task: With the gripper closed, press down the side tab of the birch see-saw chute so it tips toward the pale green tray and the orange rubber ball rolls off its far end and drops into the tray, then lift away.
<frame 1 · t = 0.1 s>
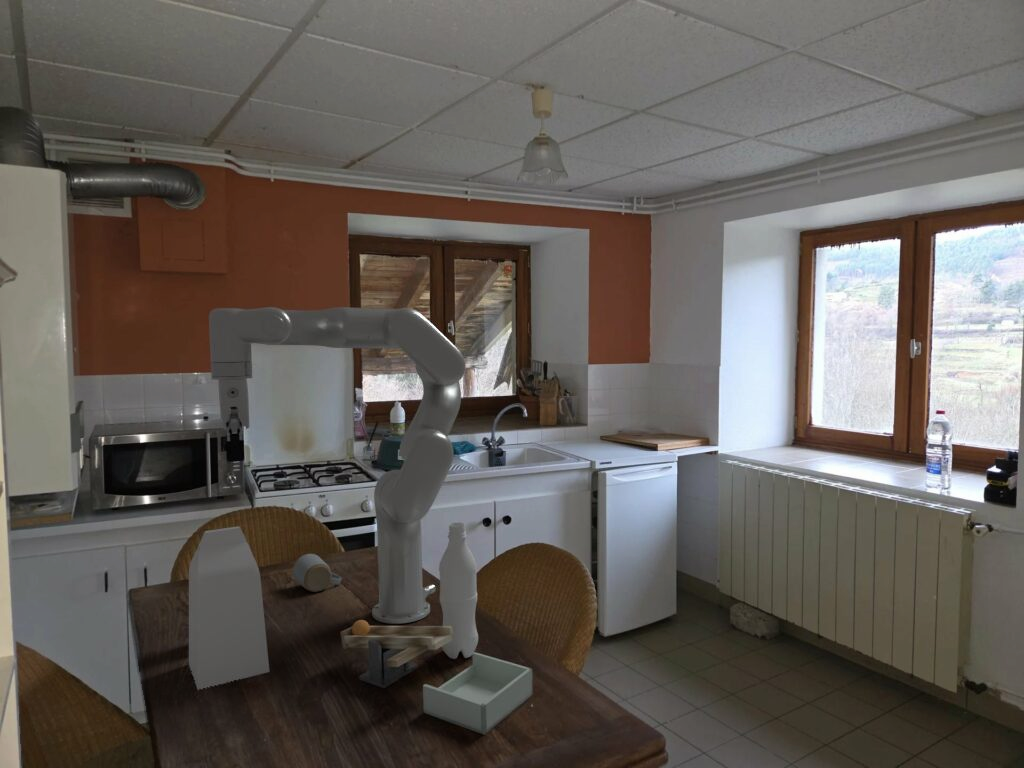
hand: (235, 457, 138), 37 cm above the table, tool pointing down, fingers open, 9 cm apart
milk: (228, 669, 128), on the table
tray: (479, 703, 114), on the table
ball: (360, 628, 129), point 7 cm above the table, tilted 29°, touching lever
ceramic mug: (318, 587, 171), on the table
lever: (382, 642, 121), point 7 cm above the table, hinge at -12.1°, touching ball
fulcrum: (389, 673, 125), on the table
water bottle: (459, 654, 133), on the table
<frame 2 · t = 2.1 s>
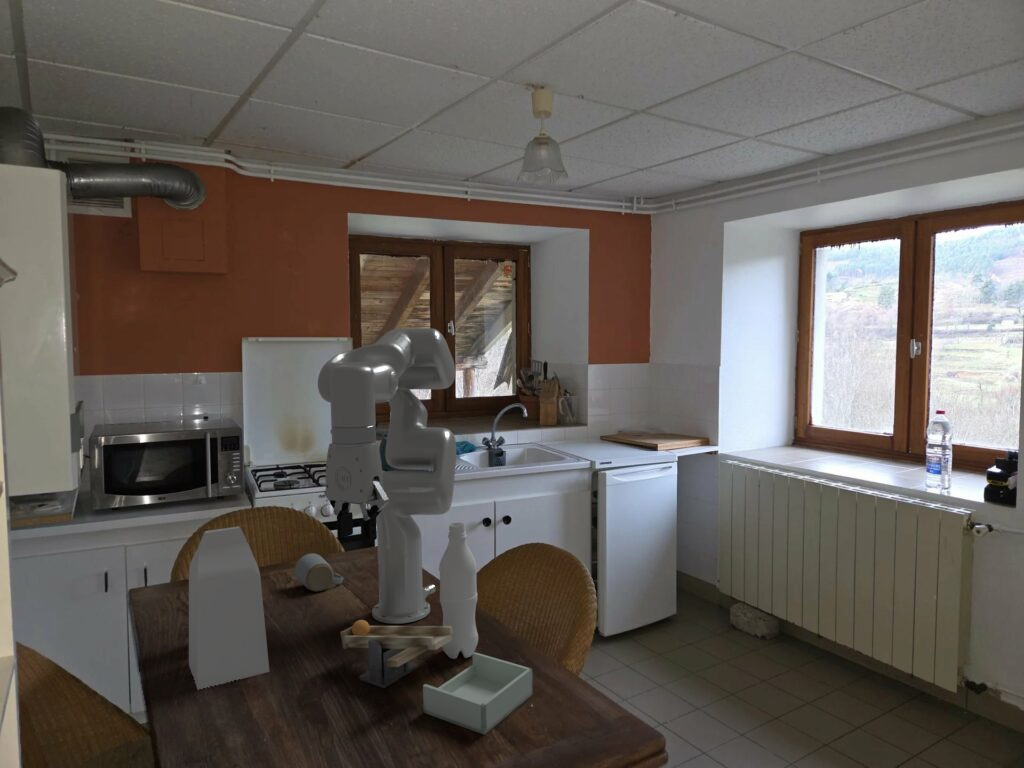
hand: (357, 537, 122), 25 cm above the table, tool pointing down, fingers open, 5 cm apart
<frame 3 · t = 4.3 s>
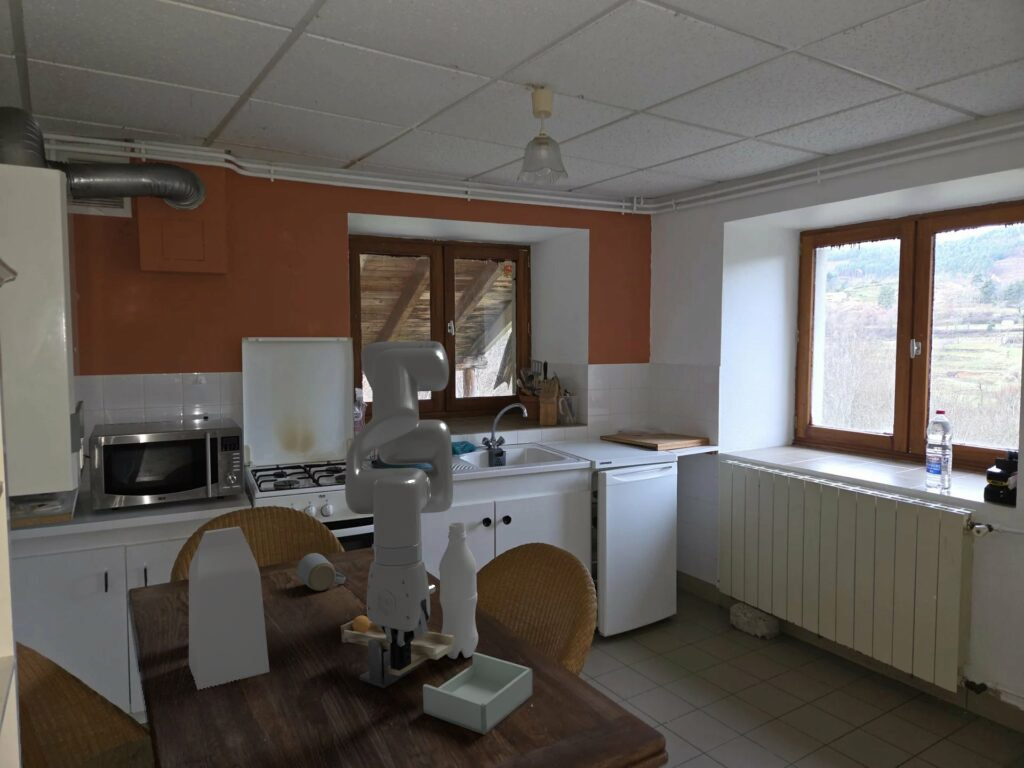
hand: (401, 666, 112), 7 cm above the table, tool pointing down, fingers closed
ball: (361, 624, 129), point 8 cm above the table, tilted 21°, touching lever
lever: (383, 643, 121), point 7 cm above the table, hinge at -4.7°, touching ball, gripper
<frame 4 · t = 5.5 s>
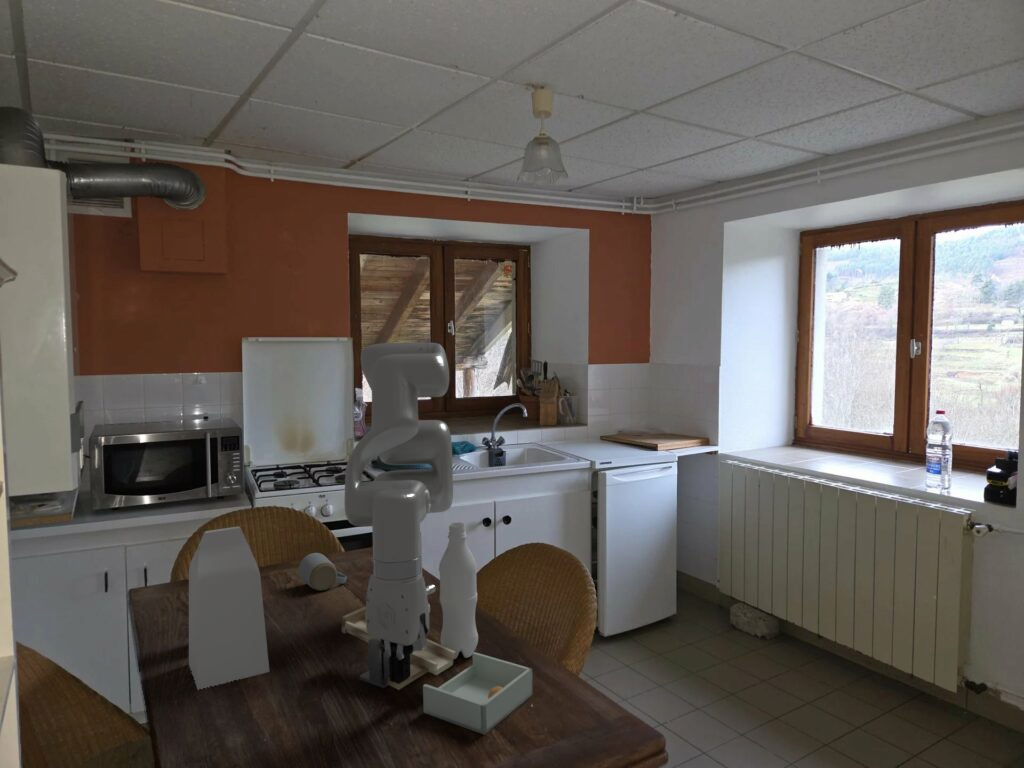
hand: (400, 679, 112), 5 cm above the table, tool pointing down, fingers closed
ball: (498, 697, 112), point 2 cm above the table, tilted 19°, touching tray
lever: (384, 646, 121), point 7 cm above the table, hinge at 7.3°, touching gripper
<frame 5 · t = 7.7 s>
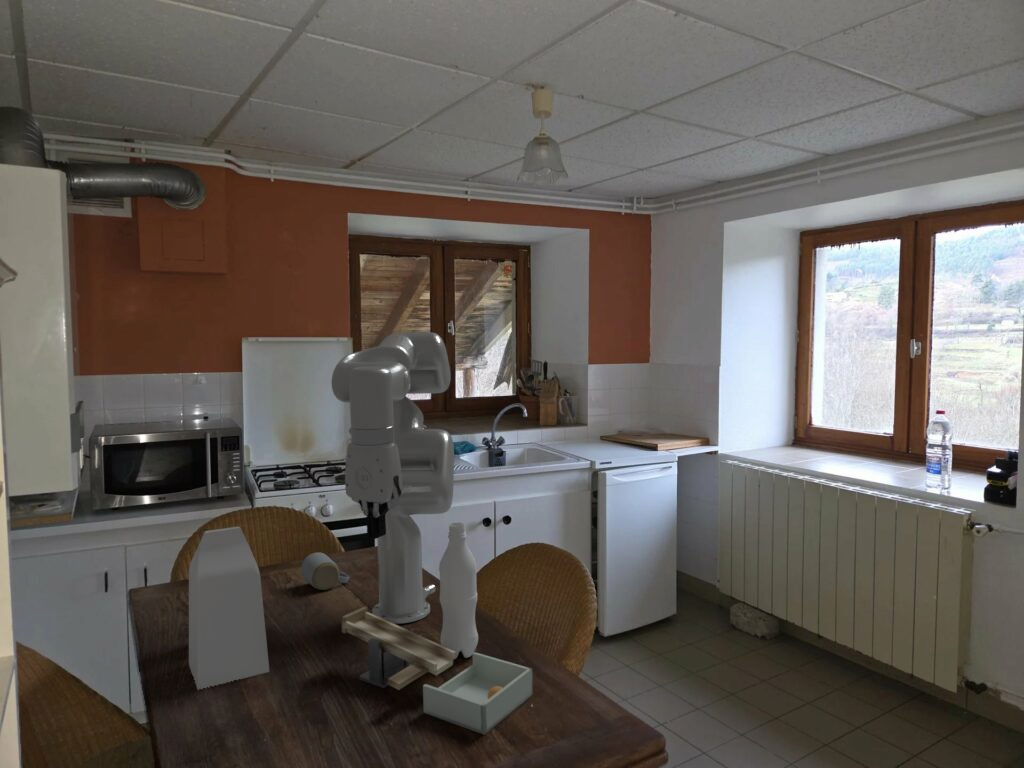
hand: (376, 535, 126), 25 cm above the table, tool pointing down, fingers closed
lever: (384, 646, 121), point 7 cm above the table, hinge at 7.5°
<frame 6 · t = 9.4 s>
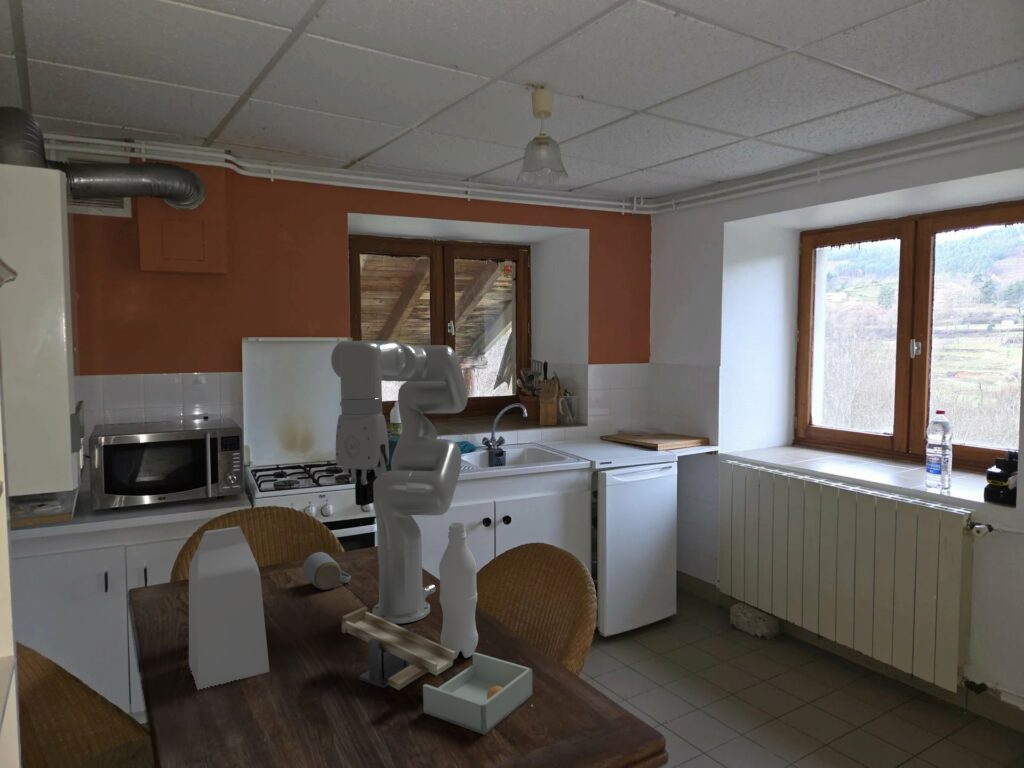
hand: (364, 503, 132), 29 cm above the table, tool pointing down, fingers closed
at the end: ball inside the target area on the tray (3.5 cm from its centre), point 2.1 cm above the tray's base; lever at +8° (first picture: -12°) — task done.
